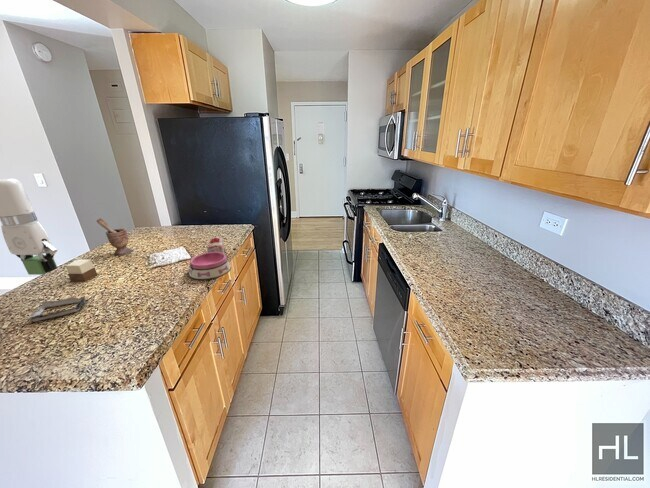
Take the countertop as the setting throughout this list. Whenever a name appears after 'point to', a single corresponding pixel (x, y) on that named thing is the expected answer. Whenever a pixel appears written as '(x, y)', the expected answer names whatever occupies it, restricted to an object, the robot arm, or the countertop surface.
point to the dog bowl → (209, 266)
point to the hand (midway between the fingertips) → (42, 270)
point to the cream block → (79, 266)
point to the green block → (35, 265)
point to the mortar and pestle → (116, 238)
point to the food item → (216, 245)
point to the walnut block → (83, 276)
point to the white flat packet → (169, 256)
